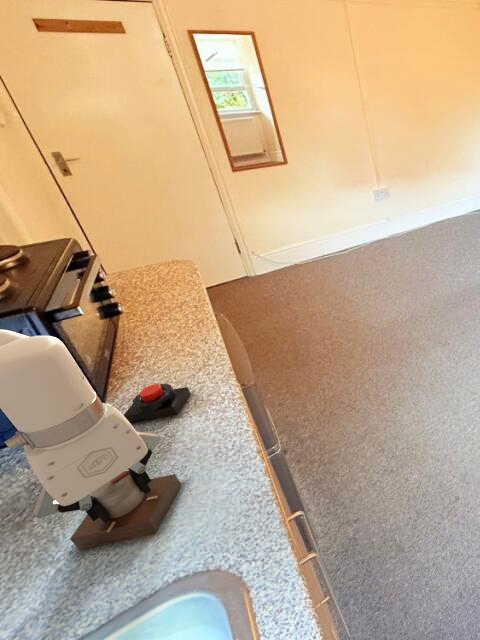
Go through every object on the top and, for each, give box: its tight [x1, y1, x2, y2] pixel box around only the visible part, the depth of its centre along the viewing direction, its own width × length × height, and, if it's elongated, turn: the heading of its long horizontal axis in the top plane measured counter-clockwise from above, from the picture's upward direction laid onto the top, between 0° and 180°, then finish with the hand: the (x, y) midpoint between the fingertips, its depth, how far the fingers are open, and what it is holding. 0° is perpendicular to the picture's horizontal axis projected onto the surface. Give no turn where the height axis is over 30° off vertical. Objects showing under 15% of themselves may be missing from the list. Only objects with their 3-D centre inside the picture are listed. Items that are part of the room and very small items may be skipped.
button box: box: [123, 383, 192, 424], centre depth 83 cm, size 9×6×4 cm
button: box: [139, 383, 164, 402], centre depth 82 cm, size 3×3×2 cm
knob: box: [91, 469, 144, 518], centre depth 61 cm, size 4×4×5 cm
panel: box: [69, 473, 182, 551], centre depth 63 cm, size 10×9×3 cm
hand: (124, 501), depth 62 cm, fingers closed on knob, 4 cm apart
